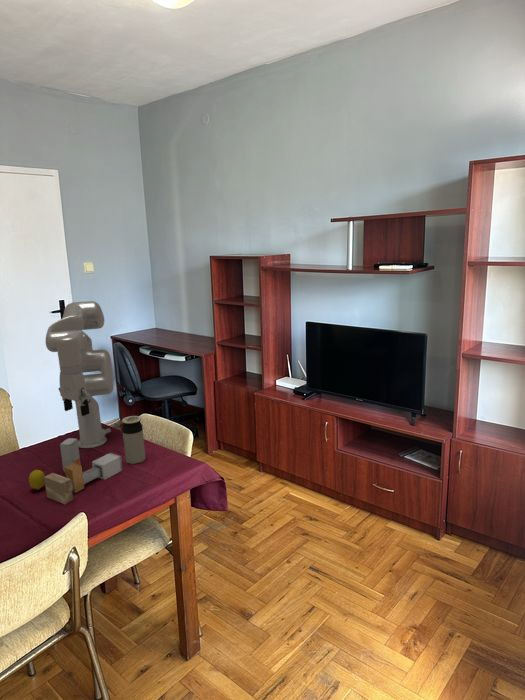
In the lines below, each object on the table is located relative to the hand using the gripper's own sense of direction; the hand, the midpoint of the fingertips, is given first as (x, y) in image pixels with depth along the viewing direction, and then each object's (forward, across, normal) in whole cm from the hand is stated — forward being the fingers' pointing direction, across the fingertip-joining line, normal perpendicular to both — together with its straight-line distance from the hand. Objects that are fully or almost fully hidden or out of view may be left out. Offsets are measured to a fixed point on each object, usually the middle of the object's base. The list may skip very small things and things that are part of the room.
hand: (77, 412), depth 187 cm
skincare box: (+27, -10, +1) cm, 29 cm away
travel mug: (+27, +7, +19) cm, 34 cm away
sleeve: (+26, +6, +6) cm, 28 cm away
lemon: (+26, -6, -16) cm, 32 cm away
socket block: (+26, +6, -16) cm, 31 cm away
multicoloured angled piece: (+26, +6, -7) cm, 27 cm away
